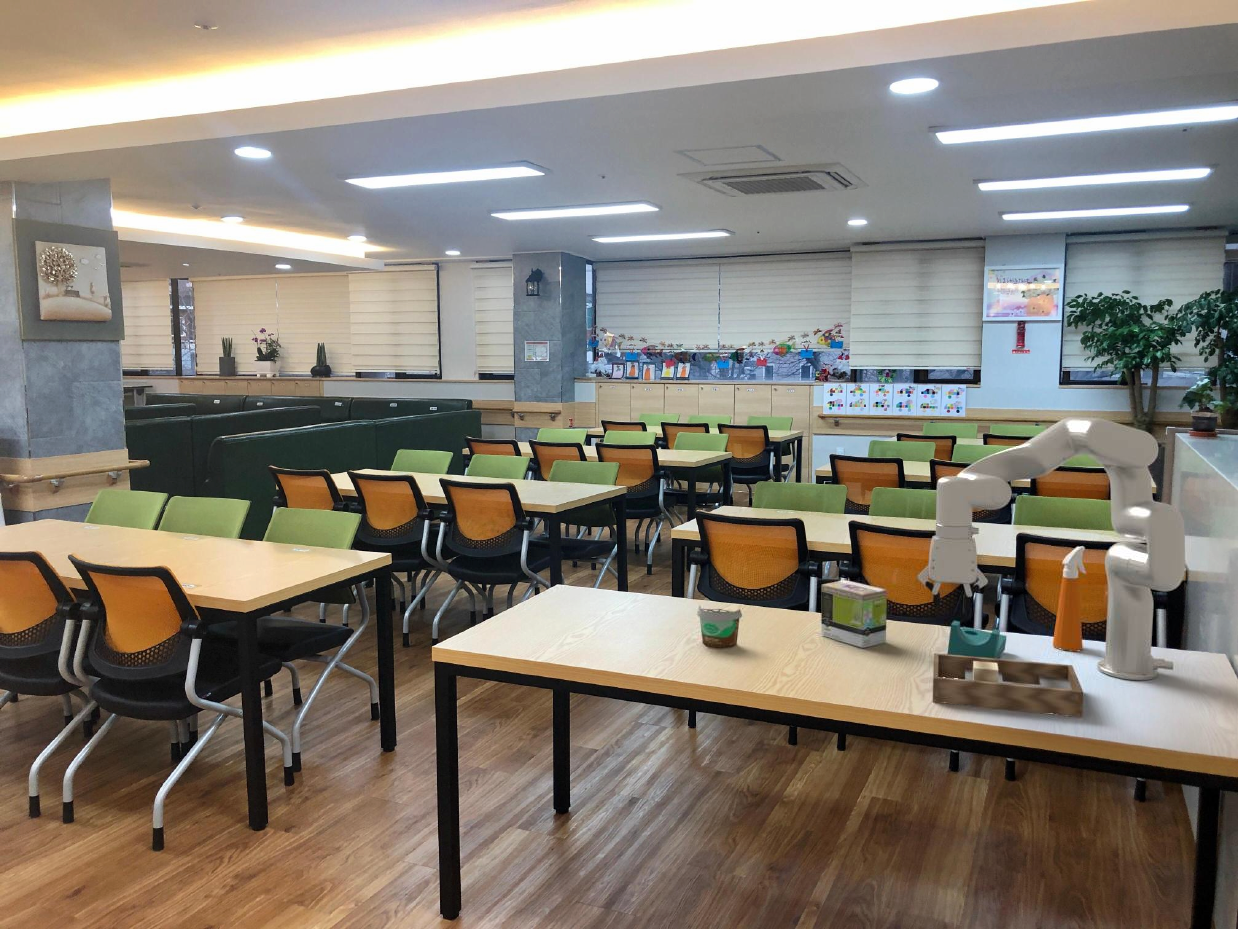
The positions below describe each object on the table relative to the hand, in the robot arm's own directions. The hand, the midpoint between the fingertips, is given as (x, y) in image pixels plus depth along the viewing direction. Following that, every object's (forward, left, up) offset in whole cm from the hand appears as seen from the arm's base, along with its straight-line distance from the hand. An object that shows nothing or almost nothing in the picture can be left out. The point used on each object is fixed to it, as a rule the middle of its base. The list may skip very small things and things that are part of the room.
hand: (951, 610), depth 206 cm
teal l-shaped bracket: (-7, -28, -20) cm, 35 cm away
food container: (+58, -19, -20) cm, 65 cm away
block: (-8, 0, -17) cm, 19 cm away
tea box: (+24, -36, -20) cm, 48 cm away
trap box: (-12, -3, -19) cm, 23 cm away
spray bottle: (-31, -46, -20) cm, 59 cm away
